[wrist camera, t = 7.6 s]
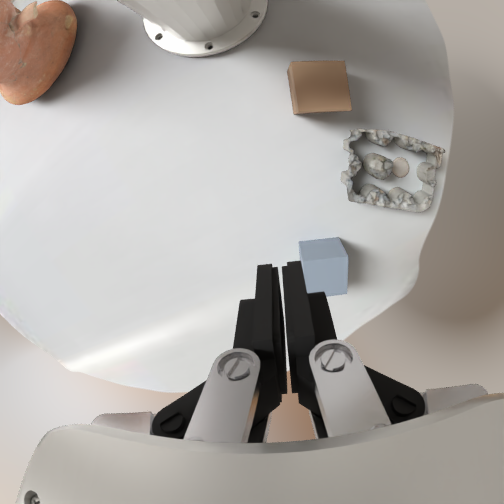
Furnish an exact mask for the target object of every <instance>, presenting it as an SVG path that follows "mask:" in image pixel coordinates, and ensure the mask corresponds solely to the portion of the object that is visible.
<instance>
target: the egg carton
mask: <svg viewBox="0 0 504 504" xmlns="http://www.w3.org/2000/svg"><path fill="white" fill-rule="evenodd" d="M350 132H351V136H350V137H349V139H345V140H344V143H343V149H344V150H347V151H349V152H350V155H349V158H348V159H349V169H348V170H346V171H343V172H342V173H341V181H342V182H343V183H344V184H345V185H346V186H347V193H348V199H349V201H351V202H357V203H367V204H372V205H378V206H382V207H388V208H395V209H403V210H407V211H412V212H423V211H425V210H426V209H427V208H429V207H430V205H431V201H432V199H433V190H434V186H435V185H436V180H435V179H434V177H435V170H436V169H437V168H439V167H440V165H441V160H442V154H443V153H445V150H444V149H443V148H440V147H437V146H435V145H432V144H429V143H426V142H423V141H420V140H418V139H415V138H412V137H408V136H405V135H401V134H398V133H395V132H392V131H387V130H372V129H368V130H364V129H357V130H350ZM362 132H365V134H366V137H367V139H368V140H369V141H370V142H372V143H375V144H378V145H382V146H387V144H389V143H390V142H391V141H392V139H393V137H394V140H395V142H396V144H397V145H398V146H399V147H401V148H404V149H408V150H410V151H414V152H419V151H421V150H423V151H424V152H426V153H427V157H426V162H422V163H420V164H419V166H418V168H417V176H418V178H419V179H420V180H421V181H423V187H422V190H420V191H417V192H416V193H415V194H414V196H413V197H412V195H411V194H409V193H408V192H406V191H405V190H403V189H401V188H399V187H395V188H393V189H391V190H390V191H389V193H388V195H387V196H386V193H385V192H383V191H382V190H380V189H379V188H377V187H376V186H375V185H372V184H367V185H365V186H363V187H362V189H361V190H360V192H359V194H356V193H355V192H354V190H353V189H352V186H353V181H352V180H351V178H353V177H355V176H356V173H357V171H358V170H360V168H361V164H362V162H361V161H359V159H358V158H359V157H358V156H357V155H355V154H354V150H353V149H351V148H350V147H349V144H350V142H351V141H355V140H358V139H359V138H360V137H361V136H362V134H361V133H362ZM363 167H364V169H365V171H366V172H367V173H369V174H370V175H372V176H373V177H375V178H376V179H381V180H384V179H385V178H386V177H388V176H389V175H390V174H391V172H393V174H394V175H395V176H397V177H399V178H402V177H405V176H406V175H407V174H408V172H409V164H408V162H407V161H406V159H404V158H402V157H401V158H400V157H399V158H396V159H395V160H394V161H393V162H392V161H391V160H390V159H387V158H385V157H384V156H381V155H378V154H375V153H370V154H368V155H366V156H365V158H364V160H363Z"/></svg>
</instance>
